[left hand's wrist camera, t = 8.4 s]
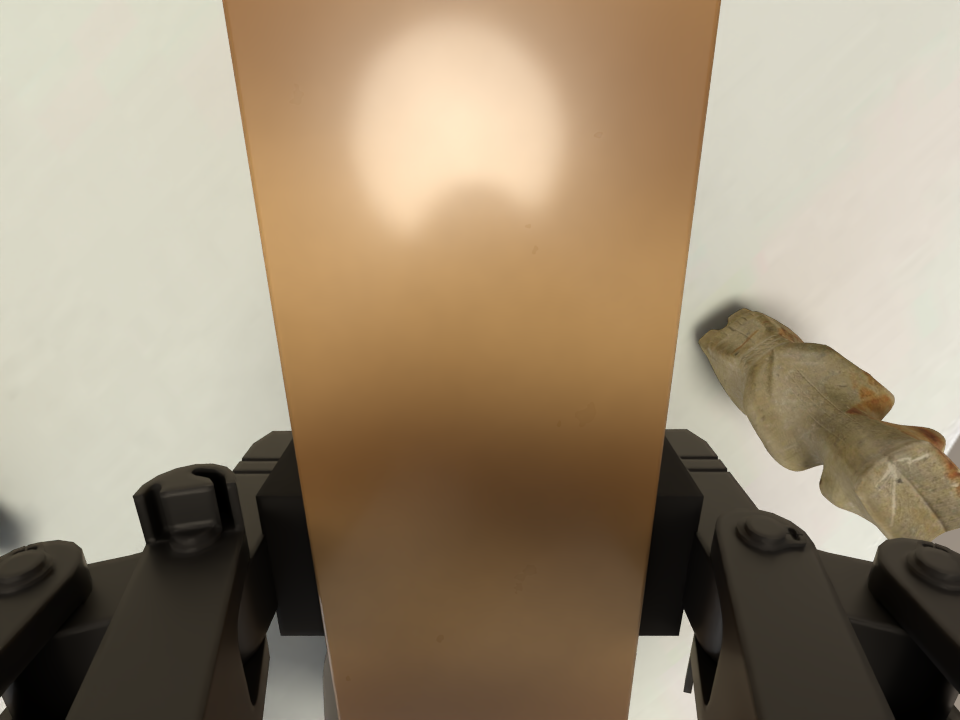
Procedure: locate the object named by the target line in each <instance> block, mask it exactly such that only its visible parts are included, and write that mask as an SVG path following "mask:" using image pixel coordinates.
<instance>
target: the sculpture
mask: <svg viewBox="0 0 960 720" xmlns="http://www.w3.org/2000/svg"><path fill="white" fill-rule="evenodd" d="M698 343H699V345H700V347H701V349H702V350H703V352H704V353H705V355H706V356H707V358H708V360H709V361H710V364H711V366H712V368H713V370H714V372H715V374H716V376H717V378H718V380H719V381H720V383H721V385H722V386H723V388H724V390H725V391H726V393H727V394H728V396H729V397H730V398H731V400H732V401H733V402H734V404H735V405H736V406H737V407H738V408H739V409H740V410H741V411H742V412H743V413H744V414H745V415H747V417H748V419H749V421H750V422H751V424H752V426H753V428H754V430H755V431H756V433H757V435H758V436H759V438H760V439H761V441H762V442H763V444H764V446H765V448H766V449H767V451H768V452H769V454H770V455H771V456H772V457H773V458H774V459H775V460H776V461H777V462H778V463H779V464H780V465H782V466H783V467H785V468H787V469H789V470H792V471H803V470H806V469H809V468H812V467H815V466H819V465H824V467H823V472H822V475H821V479H820V483H819V486H820V491H821V493H822V495H823V496H824V497H825V498H826V499H827V500H829V501H830V502H831V503H832V504H834V505H835V506H837V507H839V508H841V509H844V510H847V511H850V512H853V513H855V514H857V515H859V516H861V517H863V518H865V519H866V520H868V521H870V522H871V523H873V524H874V525H876V526H877V527H878V529H879V530H880V531H881V532H882V533H883V534H884V535H885V537H886V538H887V539H895V538H910V539H918V540H924V541H928V542H931V541H932V540H933V539H935V538H936V537H937V536H939V535H941V534H942V533H944V532H947V531H951V530H954V529H958V528H960V469H959V468H958V467H957V466H956V465H955V464H954V463H953V462H952V461H951V460H950V459H949V458H948V457H947V456H946V455H945V454H944V449H945V445H946V440H945V438H944V436H942V435H941V434H940V433H939V432H937V431H935V430H933V429H930V428H925V427H917V426H905V425H898V424H893V423H888V422H884V421H881V420H882V419H883V418H884V417H885V416H886V414H887V413H888V412H889V411H890V410H891V408H892V407H893V405H894V401H895V399H894V396H893V394H892V393H891V392H890V391H888V390H887V389H886V388H885V387H884V386H882V385H881V384H880V383H879V382H878V381H876V380H875V379H874V378H873V377H872V376H871V375H870V374H868V373H867V372H865V371H863V370H862V369H860V368H859V367H857V366H856V365H854V364H853V363H852V362H850V361H849V360H847V359H846V358H844V357H843V356H842V355H840V354H839V353H838V352H836V351H835V350H833V349H832V348H831V347H829V346H827V345H822V344H816V343H804V342H803V341H802V340H801V339H800V338H799V337H798V336H797V335H796V334H795V333H794V332H793V331H791V330H790V329H789V328H788V327H786V326H784V325H783V324H781V323H780V322H778V321H776V320H775V319H773V318H771V317H769V316H767V315H765V314H763V313H760V312H757V311H750V310H748V309H745V308H743V309H740V310H739V311H737V312H736V313H734V314H732V315H731V316H730V317H728V324H727V326H726V327H724V328H723V329H721V330H714V329H712V330H710V331H709V332H707V333H706V334H705V335H704V336H703V337H702V338H701V339H700V340H699V341H698Z"/></svg>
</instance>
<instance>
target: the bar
mask: <svg viewBox="0 0 960 720" xmlns="http://www.w3.org/2000/svg"><path fill="white" fill-rule="evenodd" d="M222 2H223V8H224V14H225V20H226V26H227V32H228V39H229V45H230V51H231V57H232V63H233V70H234V76H235V82H236V88H237V94H238V101H239V107H240V113H241V119H242V125H243V132H244V138H245V144H246V150H247V156H248V163H249V169H250V175H251V181H252V187H253V193H254V200H255V206H256V212H257V218H258V224H259V231H260V237H261V243H262V249H263V255H264V262H265V268H266V274H267V280H268V286H269V293H270V299H271V305H272V311H273V317H274V323H275V330H276V336H277V342H278V348H279V354H280V361H281V367H282V373H283V379H284V385H285V392H286V398H287V404H288V410H289V416H290V423H291V429H292V435H293V441H294V447H295V454H296V460H297V466H298V472H299V478H300V484H301V491H302V497H303V503H304V509H305V515H306V522H307V528H308V534H309V540H310V546H311V553H312V559H313V565H314V571H315V577H316V584H317V590H318V596H319V602H320V608H321V614H322V621H323V627H324V633H325V639H326V645H327V652H328V658H329V664H330V670H331V676H332V683H333V689H334V695H335V701H336V707H337V714H338V720H628V713H629V706H630V698H631V690H632V682H633V675H634V667H635V659H636V652H637V644H638V636H639V629H640V621H641V613H642V605H643V598H644V590H645V582H646V575H647V567H648V559H649V552H650V544H651V536H652V528H653V521H654V513H655V505H656V498H657V490H658V482H659V475H660V467H661V459H662V451H663V444H664V436H665V428H666V421H667V413H668V405H669V398H670V390H671V382H672V374H673V367H674V359H675V351H676V344H677V336H678V328H679V321H680V313H681V305H682V297H683V290H684V282H685V274H686V267H687V259H688V251H689V244H690V236H691V228H692V220H693V213H694V205H695V197H696V190H697V182H698V174H699V167H700V159H701V151H702V143H703V136H704V128H705V120H706V113H707V105H708V97H709V90H710V82H711V74H712V66H713V59H714V51H715V43H716V36H717V28H718V20H719V13H720V5H721V0H222Z"/></svg>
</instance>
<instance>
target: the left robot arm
mask: <svg viewBox="0 0 960 720" xmlns="http://www.w3.org/2000/svg"><path fill="white" fill-rule="evenodd" d="M133 499H134V502H135V506H136V509H137V513H138V516H139V520H140V523H141V527H142V531H143V534H144V538H145V541H146V546H145V548H144V550H143V552H141V553H137V554H133V555H129V556H125V557H120V558H115V559H110V560H106V561H101V562H96V563H91V564H87V563H86V560H85V557H84V554H83V551H82V549H81V548H80V547H79V546H78V545H76V544H75V543H74V542H69V541H62V540H54V541H47V542H39V543H35V544H30V545H28V546H23V547H20V548H18V549H15V550H13V551H11V552H9V553H7V554H5V555H3V556H1V557H0V697H1V696H2V698H3V700H4V702H5V704H6V706H7V707H6V708H5V710H4V711H3V712H2V713H1V714H0V720H263V711H264V702H265V694H266V685H267V677H268V668H269V660H270V656H269V648H268V642H267V637H266V633H267V630H268V628H269V626H270V623H271V621H272V619H273V617H274V614H275V612H277V618H278V623H279V629H280V634H281V636H325V633H324V627H323V621H322V614H321V608H320V602H319V596H318V590H317V584H316V577H315V571H314V565H313V559H312V553H311V546H310V540H309V534H308V528H307V522H306V515H305V509H304V503H303V497H302V491H301V484H300V478H299V472H298V466H297V460H296V454H295V447H294V441H293V435H292V431H272V432H271V433H269V434H267V435H266V436H264V437H263V438H261V439H260V440H258V441H257V442H255V443H254V444H253V445H252V446H251V447H250V449H249V450H248V451H247V453H246V454H245V455H244V457H243V458H242V461H240V462H239V463H238V464H237V466H236V467H235V468H234V470H233V472H232V471H231V470H230V469H229V468H227V467H225V466H221V465H216V464H194V465H190V466H185V467H180V468H176V469H173V470H171V471H168V472H166V473H163V474H161V475H158V476H156V477H155V478H153V479H152V480H150V481H148V482H147V483H145V484H144V485H142V486H141V487H140V489H139V490H138V491H137V492H136V493H135V494H134V495H133ZM683 610H685V613H686V615H687V617H688V619H689V622H690V624H691V626H692V628H693V631H694V637H693V642H692V648H691V653H690V658H689V663H688V668H687V673H686V678H685V685H684V692H686V693H691V691H692V686H693V684H694V693H695V701H696V710H697V718H698V720H960V712H959V710H958V709H957V708H956V707H955V706H954V703H955V701H956V698H957V696H958V694H960V554H959V553H956V552H954V551H952V550H950V549H949V548H947V547H945V546H942V545H939V544H934V543H932V542H928V541H924V540H918V539H910V538H895V539H888V540H886V541H884V542H883V543H882V544H881V545H879V546H878V549H877V552H876V555H875V558H874V561H873V562H871V561H866V560H861V559H856V558H851V557H847V556H842V555H837V554H832V553H828V552H824V551H821V550H817V549H816V547H815V545H814V543H813V542H812V540H811V539H810V538H809V536H808V535H807V534H806V532H805V531H803V530H802V529H801V528H799V527H798V526H796V525H795V524H794V523H792V522H791V521H789V520H787V519H785V518H782V517H780V516H778V515H776V514H774V513H770V512H766V511H762V510H759V509H758V508H757V507H756V506H755V504H754V503H753V502H752V500H751V499H750V498H749V496H748V495H747V494H746V493H745V491H744V490H743V489H742V487H741V486H740V485H739V483H738V482H737V481H736V480H735V478H734V477H733V476H732V474H731V473H730V472H727V468H726V467H725V465H724V464H723V463H722V461H721V460H720V459H718V456H717V455H716V454H715V452H714V451H713V450H712V448H711V447H710V446H709V444H708V443H707V442H706V441H704V440H703V439H701V438H700V437H698V436H697V435H695V434H693V433H692V432H690V431H689V430H687V429H665V436H664V444H663V451H662V459H661V467H660V475H659V482H658V490H657V498H656V505H655V513H654V521H653V528H652V536H651V544H650V552H649V559H648V567H647V575H646V582H645V590H644V598H643V605H642V613H641V621H640V629H639V636H679V632H680V626H681V621H682V615H683ZM323 694H324V716H325V720H338V714H337V707H336V701H335V695H334V689H333V683H332V676H331V670H330V664H329V658H328V652H327V653H326V657H325V662H324V670H323Z"/></svg>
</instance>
